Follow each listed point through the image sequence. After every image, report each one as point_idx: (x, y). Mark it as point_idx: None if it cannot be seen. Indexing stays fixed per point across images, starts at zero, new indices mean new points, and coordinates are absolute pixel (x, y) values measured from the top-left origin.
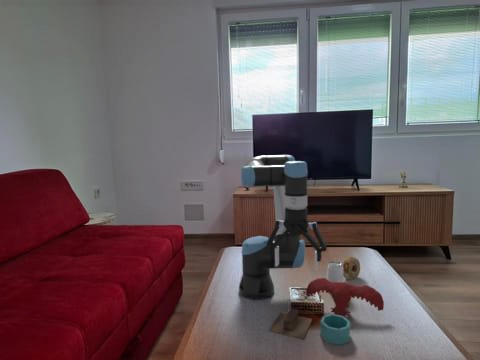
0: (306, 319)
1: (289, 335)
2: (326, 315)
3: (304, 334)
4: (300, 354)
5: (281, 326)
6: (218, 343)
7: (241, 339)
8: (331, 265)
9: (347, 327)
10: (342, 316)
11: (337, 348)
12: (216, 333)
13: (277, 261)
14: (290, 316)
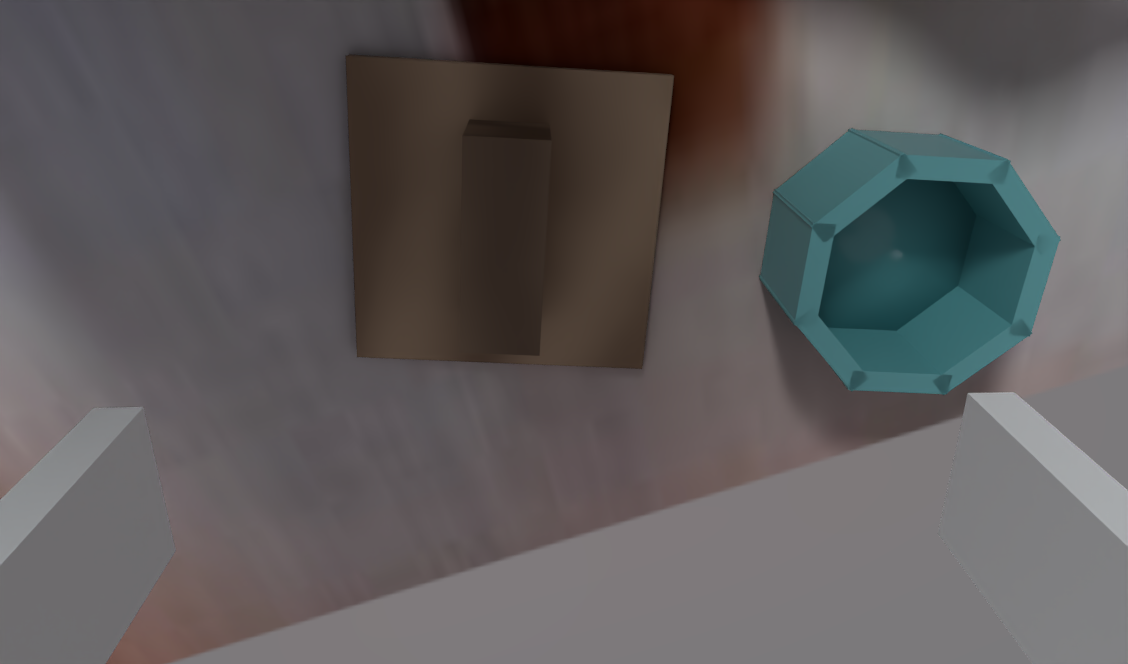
0: (624, 105)
1: (528, 361)
2: (847, 202)
3: (639, 326)
4: (641, 507)
5: (437, 285)
6: None
7: (213, 499)
8: None
9: (1020, 334)
10: (1002, 170)
11: None
12: None
13: (123, 592)
14: (505, 283)
